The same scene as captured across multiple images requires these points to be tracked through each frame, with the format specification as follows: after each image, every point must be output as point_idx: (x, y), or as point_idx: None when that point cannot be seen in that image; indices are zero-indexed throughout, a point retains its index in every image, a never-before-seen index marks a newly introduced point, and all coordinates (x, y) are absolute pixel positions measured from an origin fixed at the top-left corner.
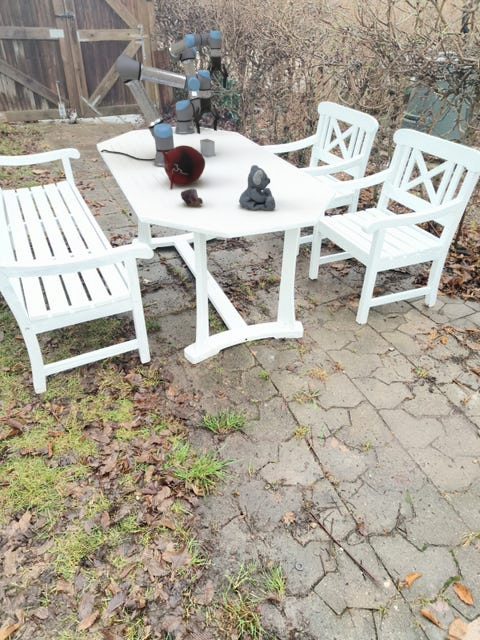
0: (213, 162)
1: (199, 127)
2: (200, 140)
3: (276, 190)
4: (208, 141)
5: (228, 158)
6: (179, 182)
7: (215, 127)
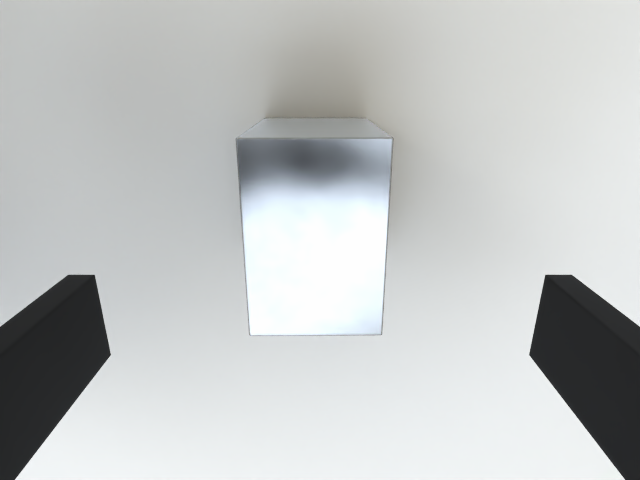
0: (218, 420)
1: (16, 462)
2: (237, 152)
3: None
4: (298, 302)
5: (393, 400)
6: None
7: (570, 387)
